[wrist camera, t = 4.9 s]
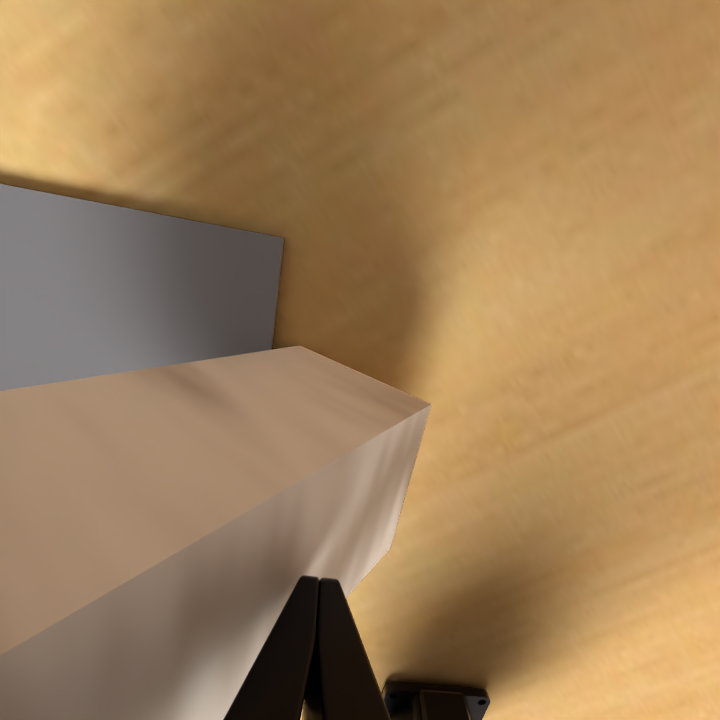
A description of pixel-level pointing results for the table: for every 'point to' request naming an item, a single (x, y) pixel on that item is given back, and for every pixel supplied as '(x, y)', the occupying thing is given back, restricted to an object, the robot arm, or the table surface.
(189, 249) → the mat
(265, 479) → the cream block
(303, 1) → the table surface
